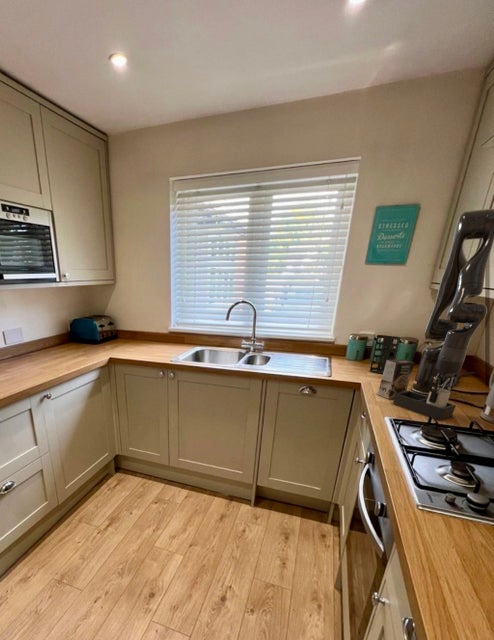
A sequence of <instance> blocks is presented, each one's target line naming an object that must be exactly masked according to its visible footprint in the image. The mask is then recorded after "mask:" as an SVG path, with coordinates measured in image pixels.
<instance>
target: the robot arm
mask: <svg viewBox="0 0 494 640" xmlns="http://www.w3.org/2000/svg"><path fill="white" fill-rule="evenodd" d="M469 240H470V241H471V240H481V242H480V245H479V247H478V249H477V250H476V251H475V253H474V254H473V255H472V256H471V257H470V259H467V257H466V255H465V251H464V242H465V241H469ZM493 245H494V208H485V209H475V210H466V211H463V212H462V213H461V214H460V215H459V217H458V219H457V222H456V225H455V229H454V233H453V237H452V242H451V246H450V250H449V254H448V259H447V261H446V265H445V268H444V269H443V274H442V275H441V279H440V283H439V287H438V290H437V294H436V298H435V301H434V305H433V307H432V310H431V314H430V316H429V319H428V321H427V324H426V326H425V331H424V337H425V338H426V339H428V340H432V341H433V340H434V341H442V343H439V344H437V345H432V346H426V347H424V348H423V351H422V353H421V357H420V361H419V364H418V368H417V370H416V373H415V378H414V380H413V384H412V387H411V391H412V392H415V393H418V394H421V395H425V396H428V395H429V392H431V395H430V398H429V402H432V403H436V401H437V398H438V395H439V392H440V391H441V389H446V390H448V391H450V392H451V390H453V389H454V386H456V385H457V384H458V382H459V377H462V376H463V377H465V376H469V375H473V374H474V376H478V373H477V372H476V371H470V372H467V373H461V371H462V368H463V365H464V362H465V359H466V356H467V351H468V348H469V345H470V343H471V340H472V337H473V335H474V334H475V332H476V331H477V329H478V328H479V326H480V325H481V324H482V322H484V319H485V318H486V316H487V314H488V307H487V305H486V304H485V303H483V302H465V299H470V298H471V299H472V298H476V297H478V296H480V295H482V293H483V292H484V291H483V290H484V284H485V277H486V269H487V265H488V262H489V258H490V255H491V252H492V248H493ZM445 311H447V312H446V318H441V316H442V315H443V313H444V312H445ZM460 324H465V325H463V327H461V328H459V325H460ZM438 388H439V389H438Z"/></svg>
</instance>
